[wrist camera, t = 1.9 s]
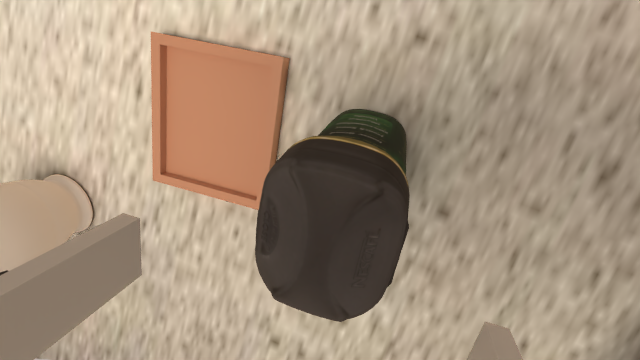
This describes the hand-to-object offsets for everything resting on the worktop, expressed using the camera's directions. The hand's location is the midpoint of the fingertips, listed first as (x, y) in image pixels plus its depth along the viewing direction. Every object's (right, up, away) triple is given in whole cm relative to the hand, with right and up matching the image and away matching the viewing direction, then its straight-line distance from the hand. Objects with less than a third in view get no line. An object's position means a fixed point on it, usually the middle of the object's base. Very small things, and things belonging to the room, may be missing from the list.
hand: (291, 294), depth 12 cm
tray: (-10, +10, +23) cm, 27 cm away
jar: (-34, +1, +32) cm, 47 cm away
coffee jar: (+5, +7, +20) cm, 22 cm away
